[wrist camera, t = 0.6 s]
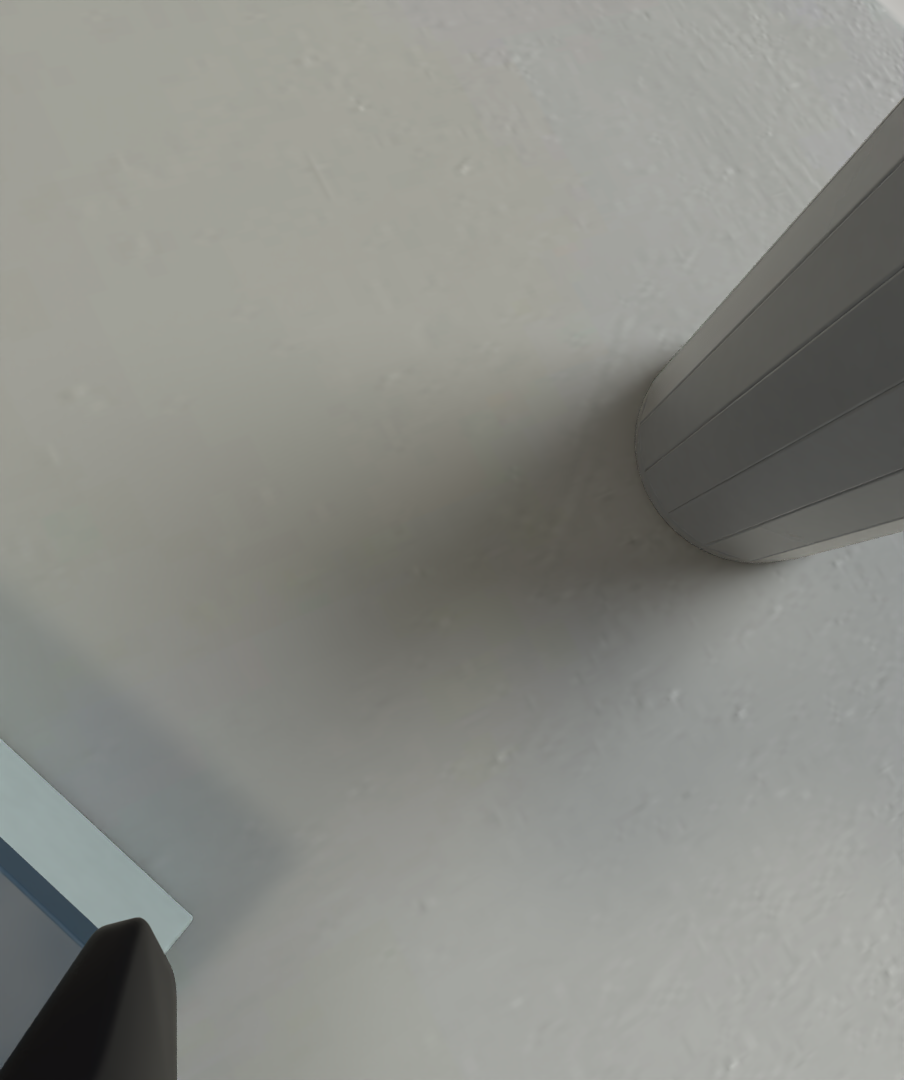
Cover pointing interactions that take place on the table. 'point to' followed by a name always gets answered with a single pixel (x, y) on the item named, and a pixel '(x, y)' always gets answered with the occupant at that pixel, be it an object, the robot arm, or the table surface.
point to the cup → (795, 383)
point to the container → (59, 893)
